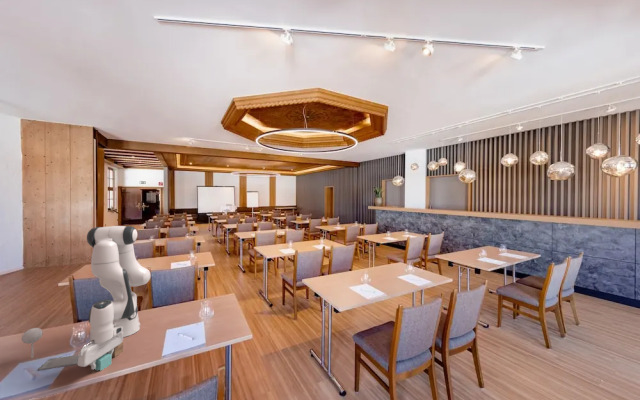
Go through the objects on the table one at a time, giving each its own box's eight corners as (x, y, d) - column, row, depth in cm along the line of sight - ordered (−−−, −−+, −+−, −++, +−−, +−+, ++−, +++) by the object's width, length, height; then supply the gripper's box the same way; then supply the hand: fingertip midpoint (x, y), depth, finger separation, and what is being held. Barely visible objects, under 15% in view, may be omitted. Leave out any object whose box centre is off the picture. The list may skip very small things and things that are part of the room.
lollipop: (42, 351, 133) (42, 323, 133) (43, 357, 129) (43, 328, 129) (21, 358, 128) (21, 329, 128) (21, 364, 123) (21, 333, 123)
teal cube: (92, 369, 120) (92, 359, 120) (103, 362, 125) (103, 353, 125) (100, 371, 119) (100, 360, 119) (111, 364, 124) (111, 354, 124)
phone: (49, 361, 127) (49, 358, 127) (88, 355, 131) (88, 353, 131) (36, 371, 119) (36, 369, 119) (78, 365, 124) (78, 363, 124)
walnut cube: (105, 357, 129) (105, 347, 129) (114, 351, 134) (114, 342, 134) (114, 357, 129) (115, 348, 129) (122, 351, 134) (123, 342, 134)
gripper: (86, 348, 111) (86, 379, 111) (125, 325, 132) (125, 351, 132) (73, 347, 112) (73, 378, 112) (114, 324, 132) (114, 350, 132)
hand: (101, 363), depth 122 cm, fingers open, 6 cm apart
